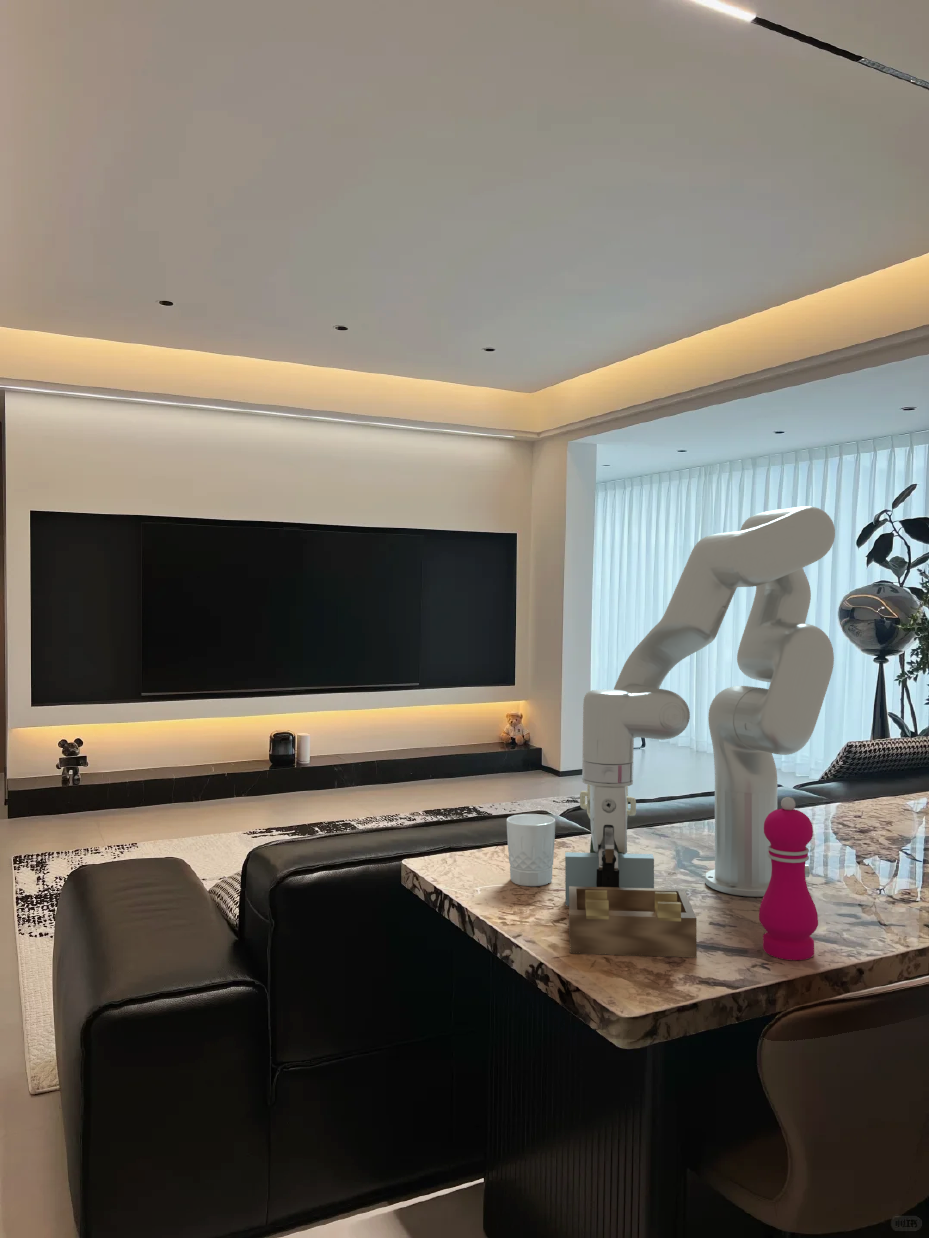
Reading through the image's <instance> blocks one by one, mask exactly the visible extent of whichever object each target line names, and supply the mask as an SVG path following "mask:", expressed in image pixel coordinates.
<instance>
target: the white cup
mask: <svg viewBox="0 0 929 1238" xmlns="http://www.w3.org/2000/svg"><path fill="white" fill-rule="evenodd" d="M555 832H556V818H555V817H552V816H550V815H546V814H537V813H523V814H514V815H511V816H508V817H507V818H506V835H507V836H506V837H507V852H508V862H509V873H510V875H509V876H510V877H509V879H510V881H511V882H512V883H513V884H515V885H519V886H524V887H540V886H541V887H542V886H546V885H548V883H549V884H550V883H552V880H553V865H554V860H555V859H554V858H555V855H554V854H555V838H556V835H555V834H556V833H555Z"/></svg>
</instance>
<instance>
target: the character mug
mask: <svg viewBox="0 0 929 1238" xmlns="http://www.w3.org/2000/svg"><path fill="white" fill-rule="evenodd" d="M586 785H587V786H586V787H587V788H586V789H587V790H581V791H580V794H579V806H580V808H581V809H582V810H586V814H587V816H588V819H590V785H588V784H586ZM628 787H629V786H626V794H627V818H628V816H630V817H635V816H636V814H637V801H636V798H635V797H633V796H629V795H628V794H629V793H628V792H629V791H628V790H629V788H628ZM629 803H630V809H629V807H628V806H629ZM614 849H615V847H614ZM589 853H594V848H593V842H592V835H591V837H590V846H589ZM618 853H622V852H619V850H618Z"/></svg>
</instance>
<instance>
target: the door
mask: <svg viewBox="0 0 929 1238" xmlns="http://www.w3.org/2000/svg"><path fill="white" fill-rule="evenodd" d="M564 857H565V858H564V859H565V860H564V864H565V865H564V868H565V869H564V871H565V872H564V873H565V880H564V884H565V906H566V905H567V906H566V907H569V886H578V887H596V882H597V869H599V863H598V853H590V852H573V851H572V852H571V851H570V852H569V851H567V852H566V851H565V856H564ZM602 857H603V855H602ZM602 863H603V861H602ZM618 870H619V888H655V857H654V855H653V853H626V854H622V853H618Z"/></svg>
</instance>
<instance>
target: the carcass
mask: <svg viewBox="0 0 929 1238" xmlns="http://www.w3.org/2000/svg"><path fill="white" fill-rule="evenodd" d="M568 907H569V908H568V918H569V919H568V921H569V922H568V923H569V929H568V930H569V954H579V955H580V954H581V955H582V954H585V955H586V954H587V955H610V956H611V955H614V956H615V955H617V956H640V957H641V956H644V957H645V956H646V957H647V956H648V957H679V958H681V957H682V958H697V952H698V951H697V945H698V943H697V941H698V940H697V932H698V931H697V929H698V928H697V915H696V913H695V910H694V908H693V906H692V904H691V902H690V899H689V897H688V895H687V893H686V890H685V888H655V887H654V888H618V887H578V886H569V906H568Z"/></svg>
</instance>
